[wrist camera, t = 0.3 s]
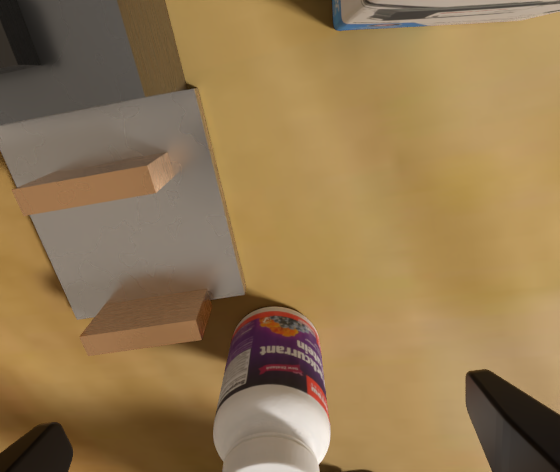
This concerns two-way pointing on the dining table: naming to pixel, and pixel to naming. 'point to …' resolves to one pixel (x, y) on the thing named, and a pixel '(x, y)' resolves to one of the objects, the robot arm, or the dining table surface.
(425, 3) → the ink box
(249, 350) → the pill bottle
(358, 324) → the dining table surface
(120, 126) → the grey block with slats
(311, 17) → the dining table surface
